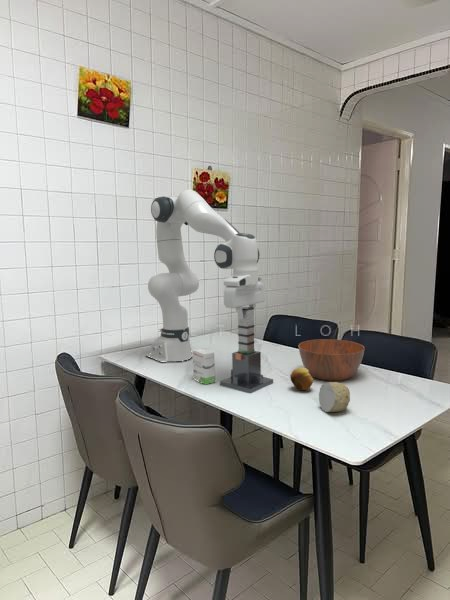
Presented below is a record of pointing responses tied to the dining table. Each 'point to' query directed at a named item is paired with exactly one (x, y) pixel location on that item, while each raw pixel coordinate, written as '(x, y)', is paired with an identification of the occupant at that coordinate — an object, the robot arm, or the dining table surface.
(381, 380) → the dining table surface
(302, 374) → the fruit
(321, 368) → the bowl
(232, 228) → the robot arm
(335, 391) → the yellow rounded chunk
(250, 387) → the stand
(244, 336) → the column
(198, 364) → the ink box
